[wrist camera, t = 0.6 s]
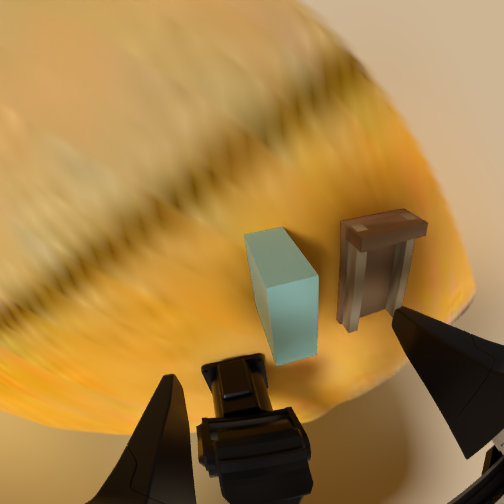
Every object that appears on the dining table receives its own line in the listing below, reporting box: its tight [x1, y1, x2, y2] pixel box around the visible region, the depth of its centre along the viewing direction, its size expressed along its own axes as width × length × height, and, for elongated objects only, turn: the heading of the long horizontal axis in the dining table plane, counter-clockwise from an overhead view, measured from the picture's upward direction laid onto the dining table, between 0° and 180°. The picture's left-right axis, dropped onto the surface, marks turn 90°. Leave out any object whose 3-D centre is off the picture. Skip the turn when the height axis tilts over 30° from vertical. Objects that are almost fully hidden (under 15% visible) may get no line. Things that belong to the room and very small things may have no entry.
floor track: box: [337, 209, 428, 333], centre depth 23 cm, size 11×7×3 cm, turn 8°
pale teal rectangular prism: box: [244, 227, 319, 366], centre depth 20 cm, size 7×3×7 cm, turn 8°
